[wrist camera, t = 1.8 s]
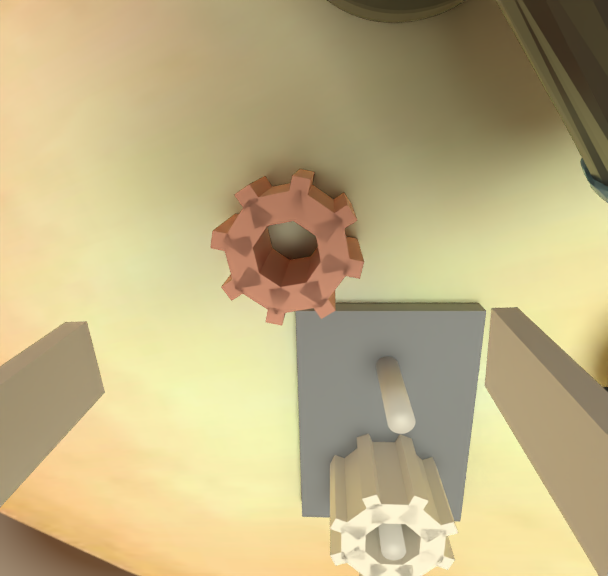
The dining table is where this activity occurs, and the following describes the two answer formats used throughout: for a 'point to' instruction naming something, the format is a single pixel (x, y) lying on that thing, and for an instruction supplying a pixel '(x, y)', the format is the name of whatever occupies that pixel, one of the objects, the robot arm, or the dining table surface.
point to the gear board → (388, 428)
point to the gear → (277, 268)
